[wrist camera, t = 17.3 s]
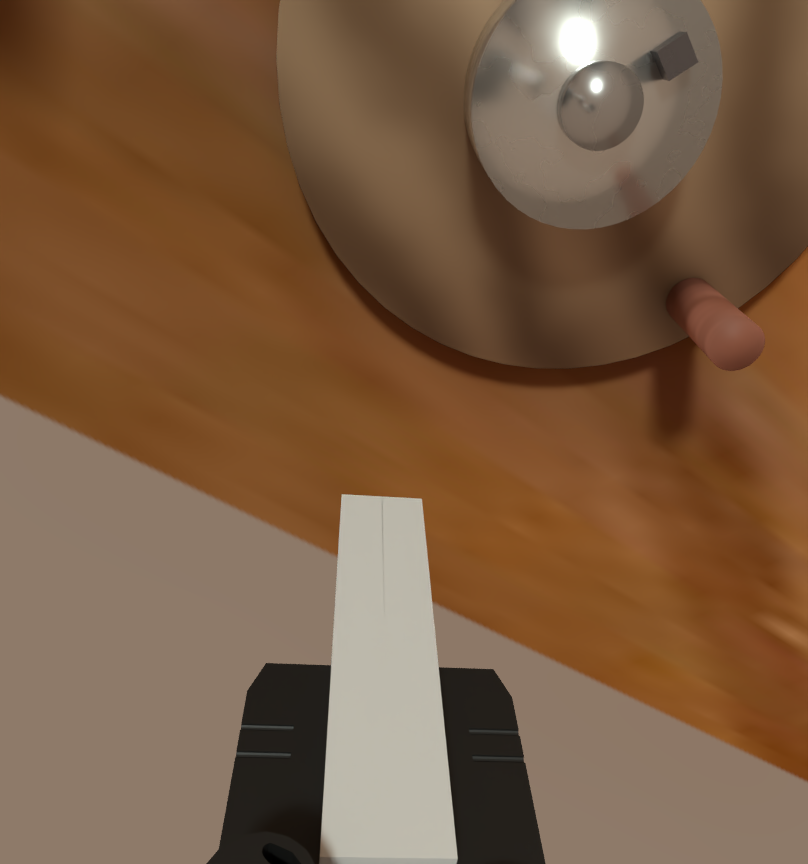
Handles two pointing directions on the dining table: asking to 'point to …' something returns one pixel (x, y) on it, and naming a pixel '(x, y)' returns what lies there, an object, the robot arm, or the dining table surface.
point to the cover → (592, 104)
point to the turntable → (515, 231)
